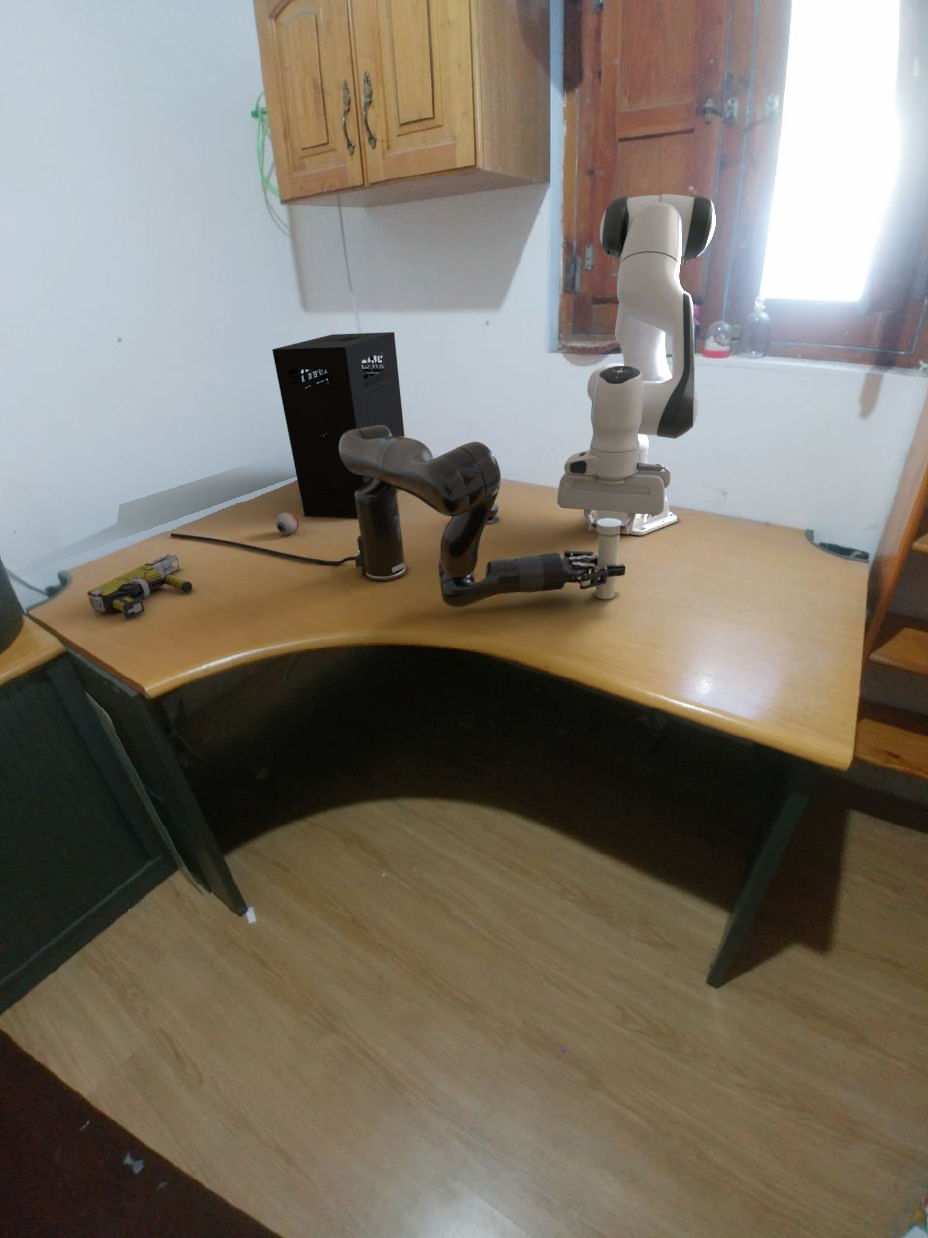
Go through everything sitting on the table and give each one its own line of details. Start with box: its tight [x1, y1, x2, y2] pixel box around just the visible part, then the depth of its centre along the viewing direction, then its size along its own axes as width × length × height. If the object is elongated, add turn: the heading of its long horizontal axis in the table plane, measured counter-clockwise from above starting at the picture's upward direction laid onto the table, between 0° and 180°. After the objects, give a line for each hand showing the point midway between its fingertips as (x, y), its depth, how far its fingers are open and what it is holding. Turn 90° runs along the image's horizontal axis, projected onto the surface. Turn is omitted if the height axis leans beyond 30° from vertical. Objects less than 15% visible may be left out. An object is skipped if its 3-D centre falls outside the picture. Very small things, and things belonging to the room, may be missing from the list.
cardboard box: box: [271, 331, 406, 519], centre depth 180 cm, size 38×20×45 cm, turn 167°
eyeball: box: [275, 511, 300, 536], centre depth 163 cm, size 6×6×6 cm
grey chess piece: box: [486, 502, 500, 524], centre depth 164 cm, size 6×6×12 cm
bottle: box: [595, 533, 620, 600], centre depth 122 cm, size 4×4×15 cm
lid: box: [595, 518, 622, 535], centre depth 118 cm, size 5×5×2 cm
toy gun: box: [86, 553, 193, 620], centre depth 136 cm, size 5×24×15 cm
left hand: (620, 564), depth 123 cm, fingers closed on bottle, 4 cm apart
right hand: (608, 531), depth 119 cm, fingers closed on lid, 5 cm apart
